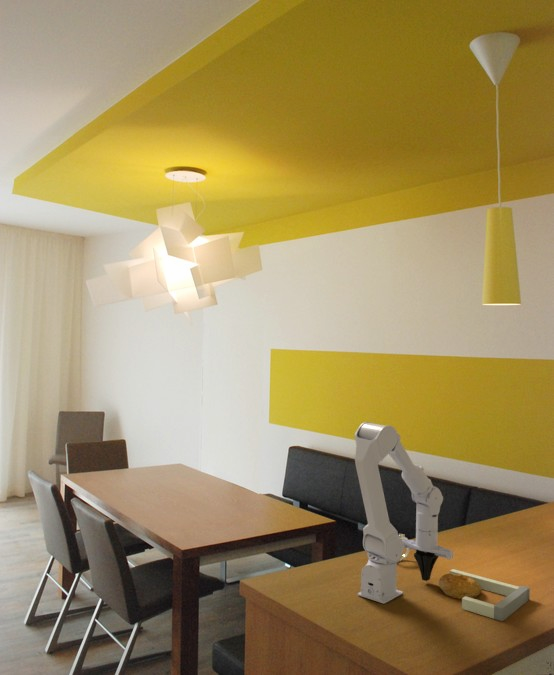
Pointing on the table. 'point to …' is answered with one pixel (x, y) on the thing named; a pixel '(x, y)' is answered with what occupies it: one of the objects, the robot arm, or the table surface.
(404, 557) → the ring
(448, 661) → the table surface
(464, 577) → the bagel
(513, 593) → the guide
